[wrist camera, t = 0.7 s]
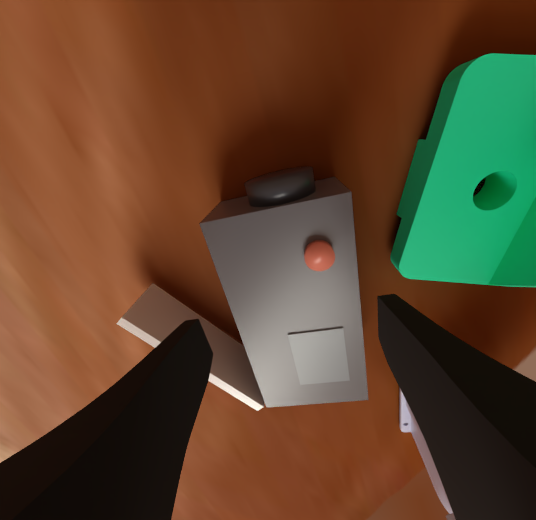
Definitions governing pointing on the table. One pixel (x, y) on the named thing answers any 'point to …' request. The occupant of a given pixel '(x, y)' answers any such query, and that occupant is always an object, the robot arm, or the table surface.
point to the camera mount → (475, 180)
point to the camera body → (293, 285)
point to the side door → (223, 346)
